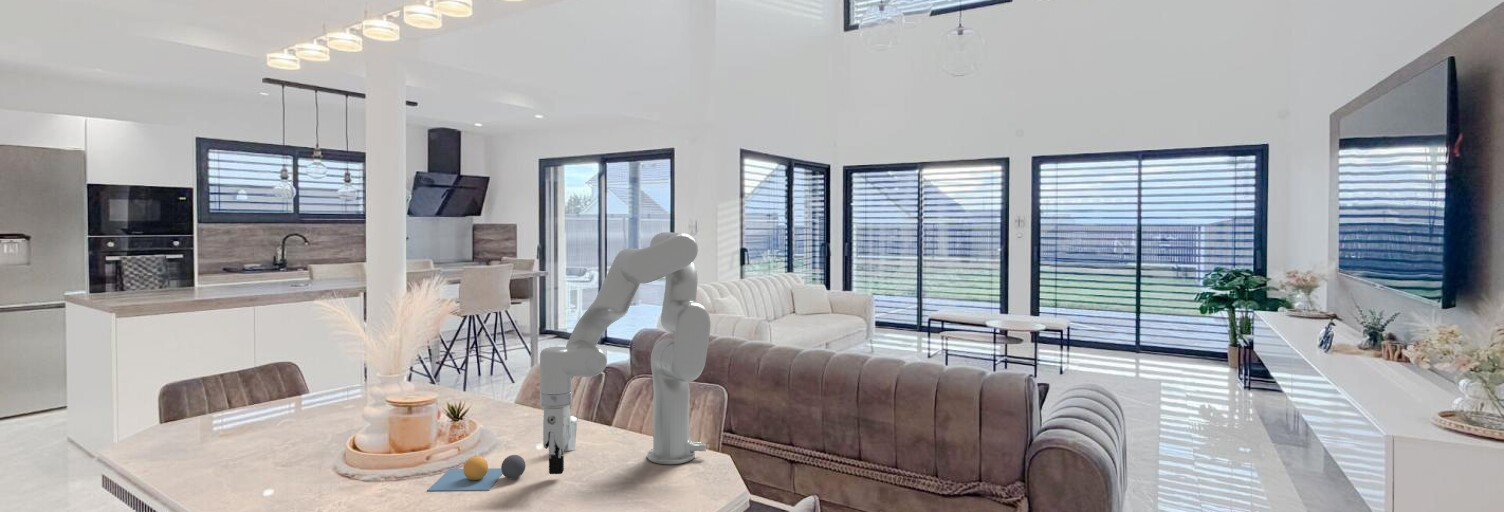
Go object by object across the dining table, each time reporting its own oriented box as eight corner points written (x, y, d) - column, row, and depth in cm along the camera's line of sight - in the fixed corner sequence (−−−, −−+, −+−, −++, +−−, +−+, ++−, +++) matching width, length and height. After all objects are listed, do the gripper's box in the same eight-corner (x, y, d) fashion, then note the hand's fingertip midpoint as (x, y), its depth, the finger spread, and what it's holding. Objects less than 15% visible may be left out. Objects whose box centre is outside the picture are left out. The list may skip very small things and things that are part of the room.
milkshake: (575, 452, 190) (575, 416, 190) (557, 451, 191) (557, 415, 191) (583, 447, 195) (583, 411, 194) (565, 446, 196) (565, 410, 195)
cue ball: (513, 478, 174) (532, 469, 173) (502, 485, 168) (523, 476, 168) (504, 457, 174) (523, 448, 174) (493, 464, 169) (513, 455, 168)
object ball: (463, 459, 172) (474, 479, 173) (455, 467, 167) (467, 488, 167) (484, 449, 172) (495, 468, 173) (476, 456, 167) (488, 477, 167)
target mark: (506, 469, 177) (506, 468, 177) (488, 490, 163) (488, 489, 163) (449, 469, 176) (449, 468, 176) (427, 491, 162) (427, 490, 162)
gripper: (565, 406, 163) (565, 484, 164) (577, 390, 178) (577, 462, 179) (532, 406, 162) (532, 484, 163) (547, 391, 177) (547, 462, 178)
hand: (556, 472), depth 171 cm, fingers closed
